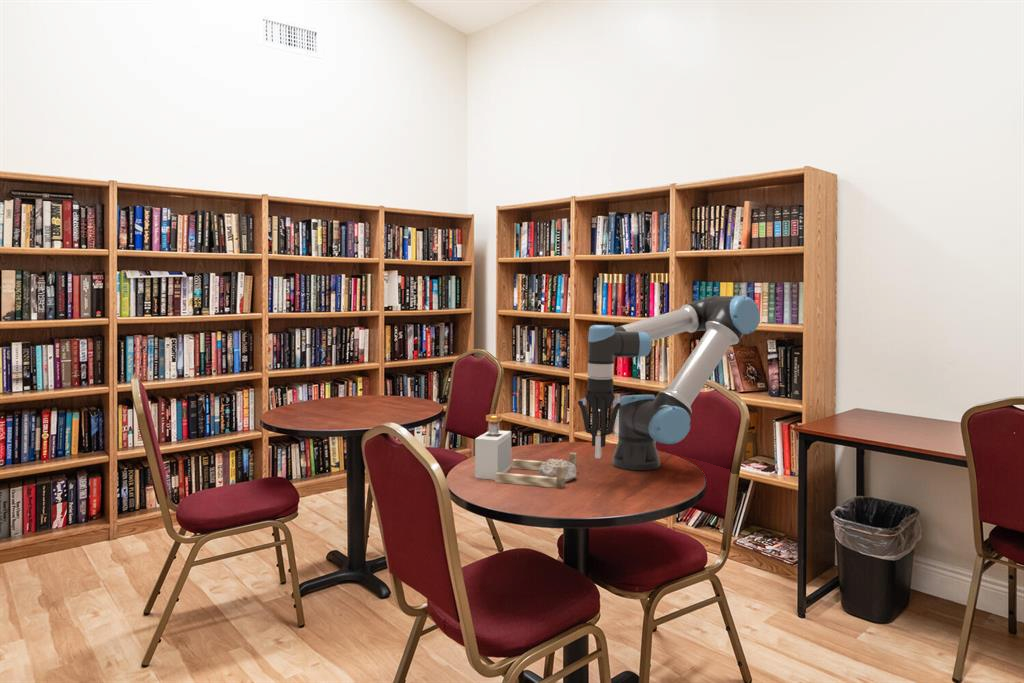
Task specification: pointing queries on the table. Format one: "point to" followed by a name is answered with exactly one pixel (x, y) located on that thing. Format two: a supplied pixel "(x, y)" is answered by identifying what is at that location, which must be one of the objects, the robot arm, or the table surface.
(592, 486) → the table surface
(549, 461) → the rock
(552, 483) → the track
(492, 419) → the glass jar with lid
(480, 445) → the white button box
